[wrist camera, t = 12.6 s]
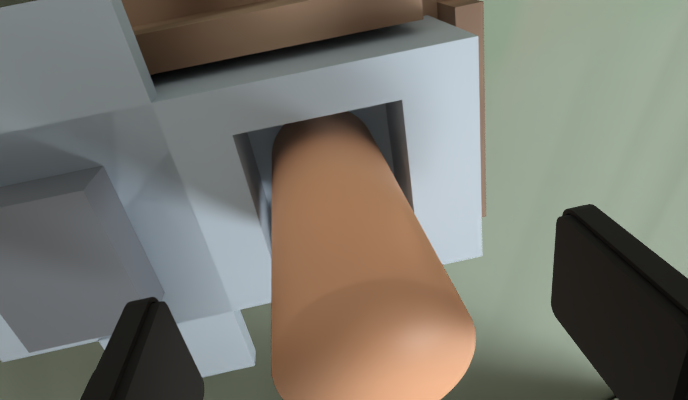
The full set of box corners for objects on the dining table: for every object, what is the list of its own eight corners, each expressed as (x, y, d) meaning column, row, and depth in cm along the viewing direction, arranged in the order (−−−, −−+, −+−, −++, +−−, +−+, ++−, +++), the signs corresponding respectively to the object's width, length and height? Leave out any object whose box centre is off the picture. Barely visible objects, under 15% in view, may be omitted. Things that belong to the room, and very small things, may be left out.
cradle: (448, -66, 17) (499, -71, 13) (461, 215, 24) (498, 267, 20) (-100, 42, 17) (-214, 69, 13) (66, 301, 23) (23, 372, 19)
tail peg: (367, 96, 16) (473, 256, 8) (381, 190, 18) (477, 401, 10) (259, 118, 16) (245, 307, 8) (285, 211, 18) (296, 445, 10)
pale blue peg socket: (421, -76, 16) (503, -92, 10) (443, 244, 23) (500, 343, 17) (-96, 26, 15) (-321, 70, 9) (89, 322, 22) (23, 452, 16)
